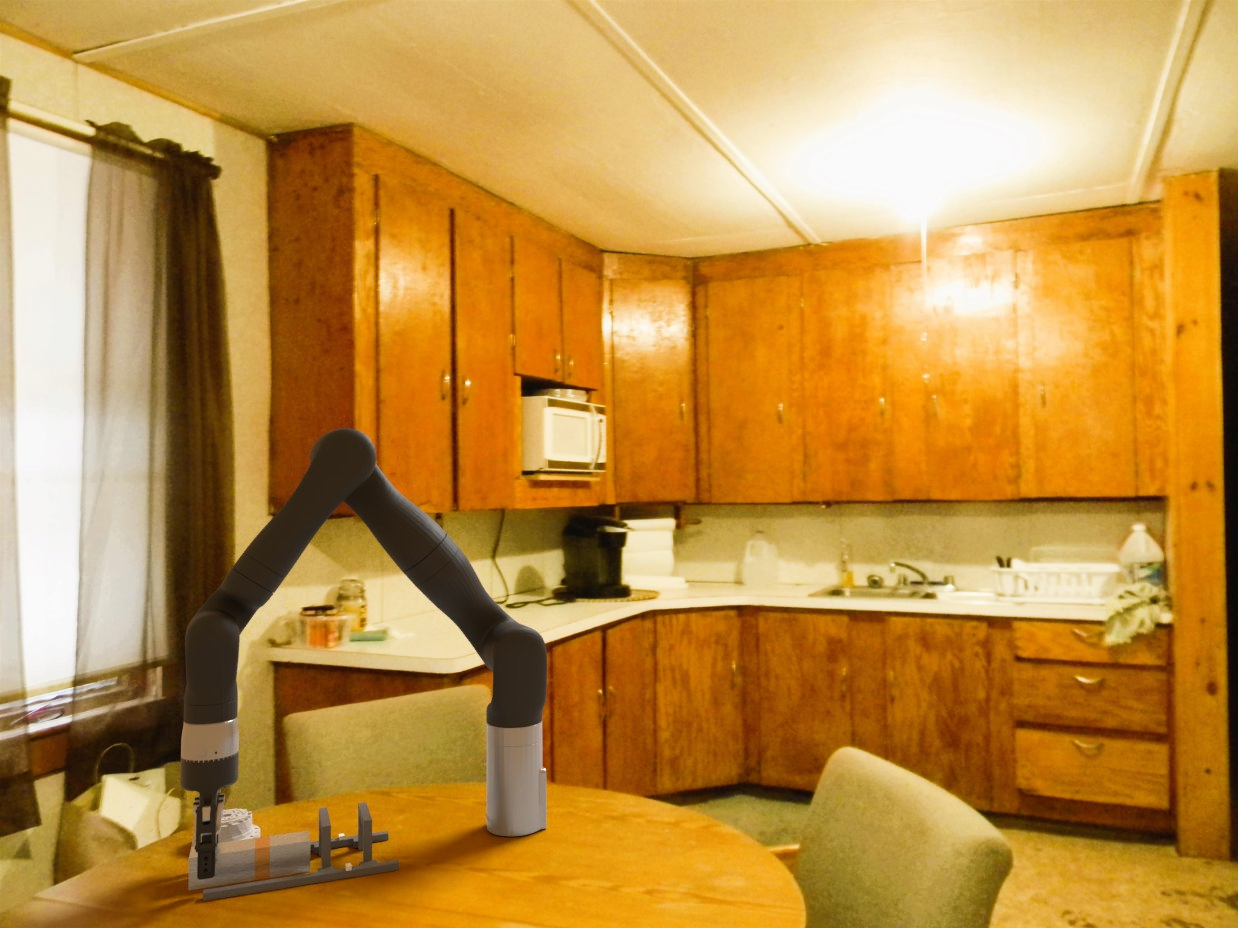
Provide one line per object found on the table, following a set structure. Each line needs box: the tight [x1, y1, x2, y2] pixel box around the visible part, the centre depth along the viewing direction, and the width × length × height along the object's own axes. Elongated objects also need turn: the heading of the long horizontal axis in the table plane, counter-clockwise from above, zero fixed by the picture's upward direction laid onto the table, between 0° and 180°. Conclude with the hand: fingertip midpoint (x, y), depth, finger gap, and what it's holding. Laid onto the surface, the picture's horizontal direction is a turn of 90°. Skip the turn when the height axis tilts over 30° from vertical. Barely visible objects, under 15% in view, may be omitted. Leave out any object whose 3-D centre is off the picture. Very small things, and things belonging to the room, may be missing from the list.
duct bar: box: [187, 830, 311, 891], centre depth 127 cm, size 16×4×4 cm, turn 112°
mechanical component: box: [191, 807, 261, 847], centre depth 139 cm, size 10×4×10 cm
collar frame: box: [202, 801, 400, 902], centre depth 130 cm, size 26×14×7 cm, turn 112°
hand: (207, 866), depth 125 cm, fingers open, 8 cm apart
